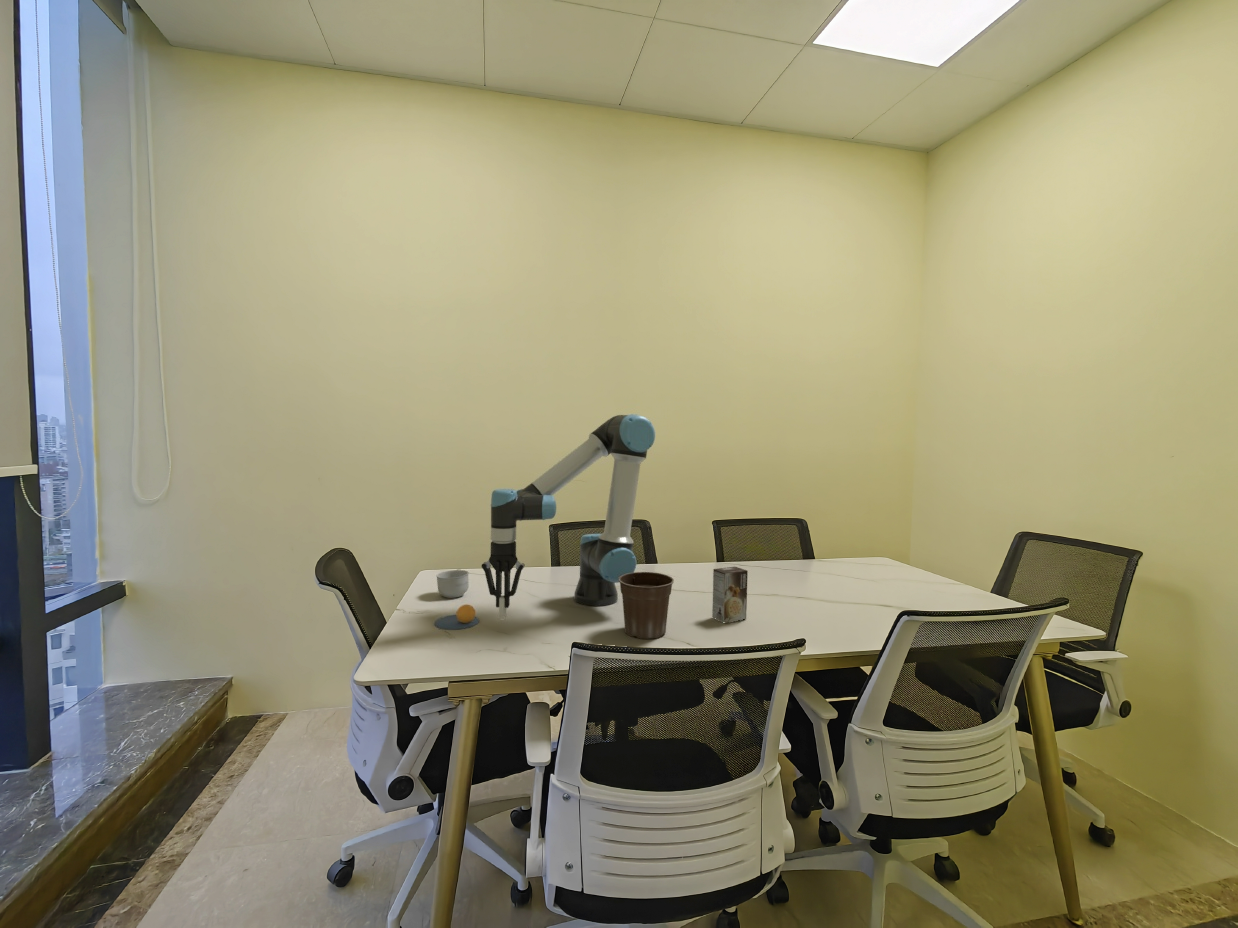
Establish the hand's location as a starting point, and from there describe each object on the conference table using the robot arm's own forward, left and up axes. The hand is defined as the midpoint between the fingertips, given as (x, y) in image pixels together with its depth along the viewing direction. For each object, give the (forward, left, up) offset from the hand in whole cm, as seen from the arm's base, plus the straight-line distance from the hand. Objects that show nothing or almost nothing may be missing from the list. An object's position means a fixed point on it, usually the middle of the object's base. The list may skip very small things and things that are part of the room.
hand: (502, 617), depth 175 cm
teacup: (+24, -28, -2) cm, 37 cm away
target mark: (+14, 0, -2) cm, 14 cm away
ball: (+11, 0, +1) cm, 11 cm away
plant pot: (-43, +2, -2) cm, 43 cm away
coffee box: (-70, -13, -2) cm, 71 cm away
